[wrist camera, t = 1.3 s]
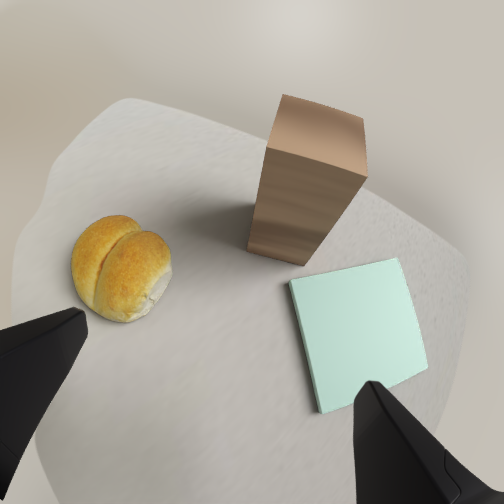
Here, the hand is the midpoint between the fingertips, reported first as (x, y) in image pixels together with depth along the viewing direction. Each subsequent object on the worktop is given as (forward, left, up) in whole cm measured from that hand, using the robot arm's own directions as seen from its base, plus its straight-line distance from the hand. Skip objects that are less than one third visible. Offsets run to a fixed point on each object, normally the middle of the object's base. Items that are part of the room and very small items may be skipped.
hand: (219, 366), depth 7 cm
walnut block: (+10, -7, -13) cm, 18 cm away
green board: (0, -12, -13) cm, 17 cm away
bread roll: (+9, +7, -13) cm, 17 cm away
